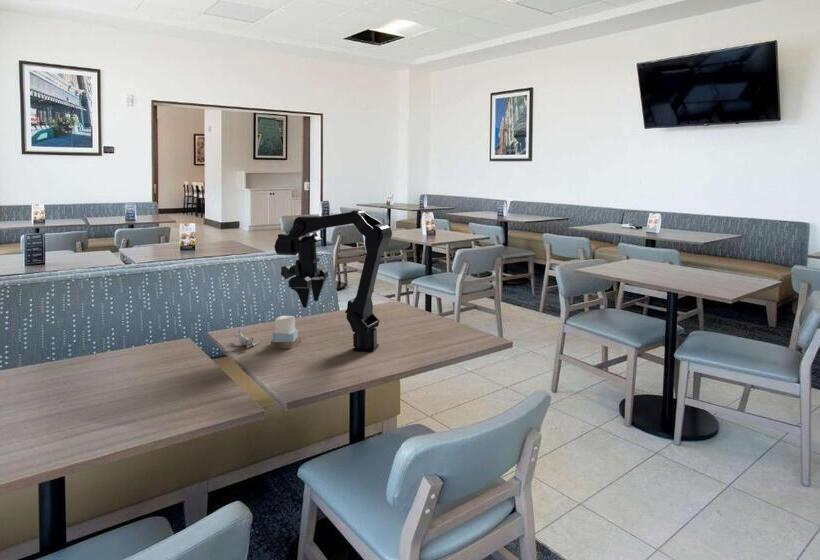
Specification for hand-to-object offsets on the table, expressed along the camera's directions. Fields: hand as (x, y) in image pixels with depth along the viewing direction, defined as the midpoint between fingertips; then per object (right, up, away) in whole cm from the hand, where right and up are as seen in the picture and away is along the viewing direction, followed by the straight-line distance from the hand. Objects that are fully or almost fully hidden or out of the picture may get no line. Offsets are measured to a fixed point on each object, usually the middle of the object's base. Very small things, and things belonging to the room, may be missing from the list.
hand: (310, 304), depth 186 cm
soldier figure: (-21, -13, 0) cm, 25 cm away
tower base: (-8, -14, 0) cm, 16 cm away
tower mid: (-8, -11, -1) cm, 14 cm away
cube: (-8, -9, -1) cm, 12 cm away
